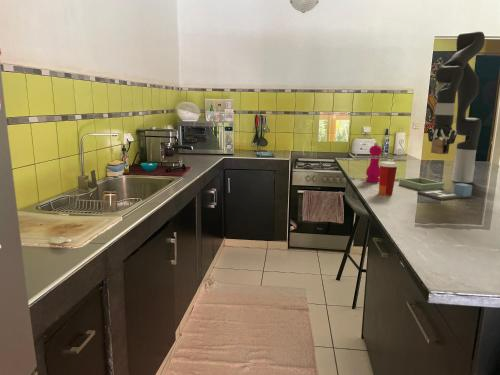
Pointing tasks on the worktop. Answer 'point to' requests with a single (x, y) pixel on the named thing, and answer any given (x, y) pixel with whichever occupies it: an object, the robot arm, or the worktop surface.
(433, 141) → the walnut block
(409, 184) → the tray
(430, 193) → the letter mat
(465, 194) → the slate cube
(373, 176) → the pepper mill
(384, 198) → the worktop surface
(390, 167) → the paper cup
